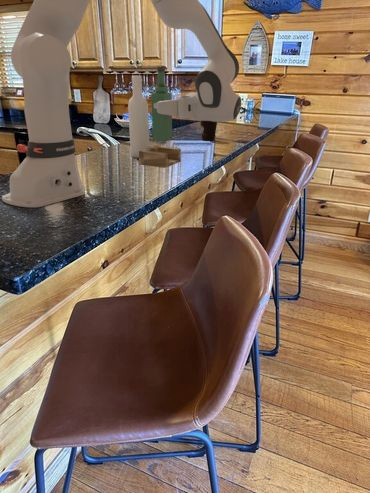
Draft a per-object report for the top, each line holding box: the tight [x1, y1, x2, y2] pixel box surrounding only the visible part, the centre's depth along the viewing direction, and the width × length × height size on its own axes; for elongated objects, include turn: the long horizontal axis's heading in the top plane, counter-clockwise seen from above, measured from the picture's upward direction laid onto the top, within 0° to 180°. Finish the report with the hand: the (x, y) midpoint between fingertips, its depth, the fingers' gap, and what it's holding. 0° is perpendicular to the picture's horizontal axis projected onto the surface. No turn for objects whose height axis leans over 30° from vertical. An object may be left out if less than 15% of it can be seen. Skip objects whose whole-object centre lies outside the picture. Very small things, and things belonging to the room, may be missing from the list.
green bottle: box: [150, 66, 173, 142], centre depth 128 cm, size 5×5×24 cm
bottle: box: [127, 75, 150, 159], centre depth 142 cm, size 8×8×30 cm
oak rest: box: [138, 145, 182, 169], centre depth 136 cm, size 12×11×5 cm
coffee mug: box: [200, 120, 218, 142], centre depth 185 cm, size 12×9×10 cm
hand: (159, 105), depth 128 cm, fingers closed on green bottle, 5 cm apart
